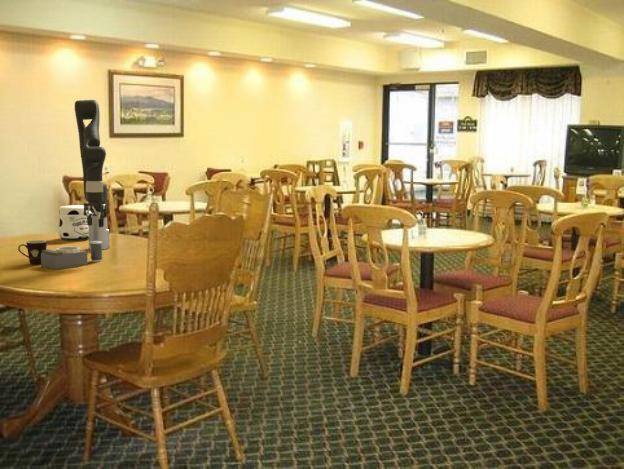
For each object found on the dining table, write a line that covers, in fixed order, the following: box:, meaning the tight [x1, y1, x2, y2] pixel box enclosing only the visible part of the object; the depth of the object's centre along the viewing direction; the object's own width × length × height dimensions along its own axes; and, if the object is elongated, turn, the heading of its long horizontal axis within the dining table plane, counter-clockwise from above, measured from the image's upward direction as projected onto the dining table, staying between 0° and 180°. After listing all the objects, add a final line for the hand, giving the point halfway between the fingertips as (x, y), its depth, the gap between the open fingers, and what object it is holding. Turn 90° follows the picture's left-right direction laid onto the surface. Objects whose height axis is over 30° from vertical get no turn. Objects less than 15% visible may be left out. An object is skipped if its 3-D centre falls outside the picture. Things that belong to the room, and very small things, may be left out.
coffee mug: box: [17, 239, 48, 266], centre depth 319 cm, size 12×9×10 cm
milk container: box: [57, 204, 89, 241], centre depth 389 cm, size 17×17×18 cm
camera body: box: [40, 246, 88, 270], centre depth 315 cm, size 16×11×8 cm
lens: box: [90, 241, 103, 263], centre depth 327 cm, size 5×5×9 cm
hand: (95, 226), depth 325 cm, fingers open, 8 cm apart
